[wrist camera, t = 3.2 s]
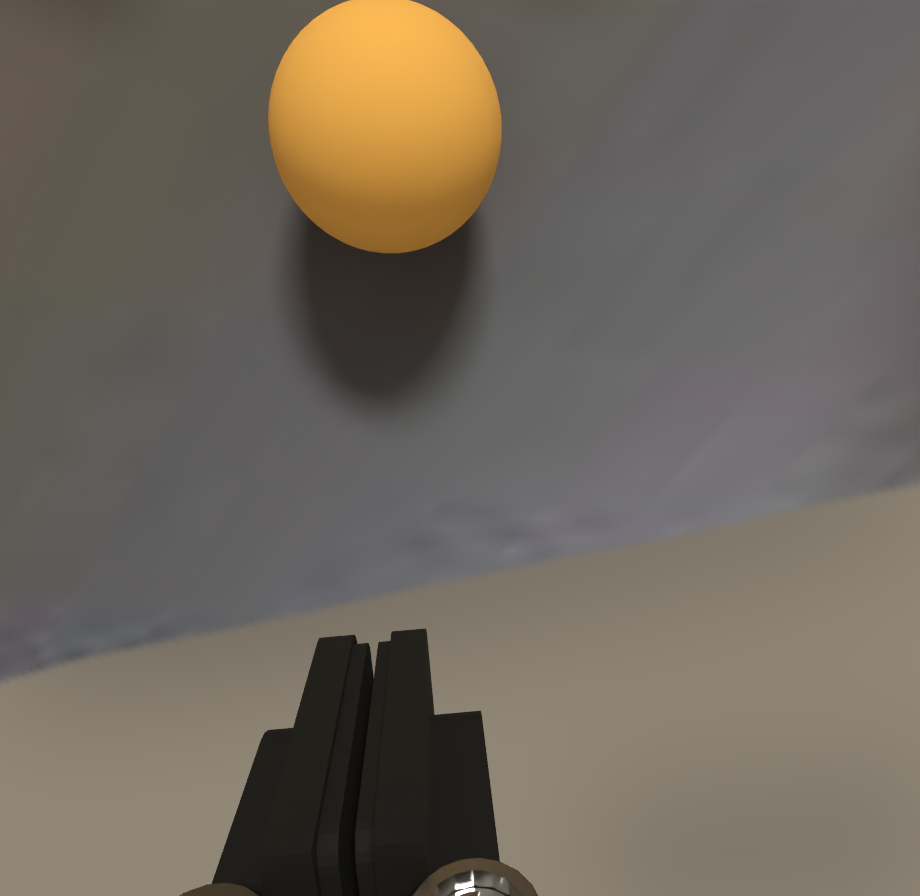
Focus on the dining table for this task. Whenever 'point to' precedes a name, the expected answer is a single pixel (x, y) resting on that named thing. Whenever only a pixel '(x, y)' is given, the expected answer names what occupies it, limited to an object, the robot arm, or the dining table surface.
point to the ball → (385, 125)
